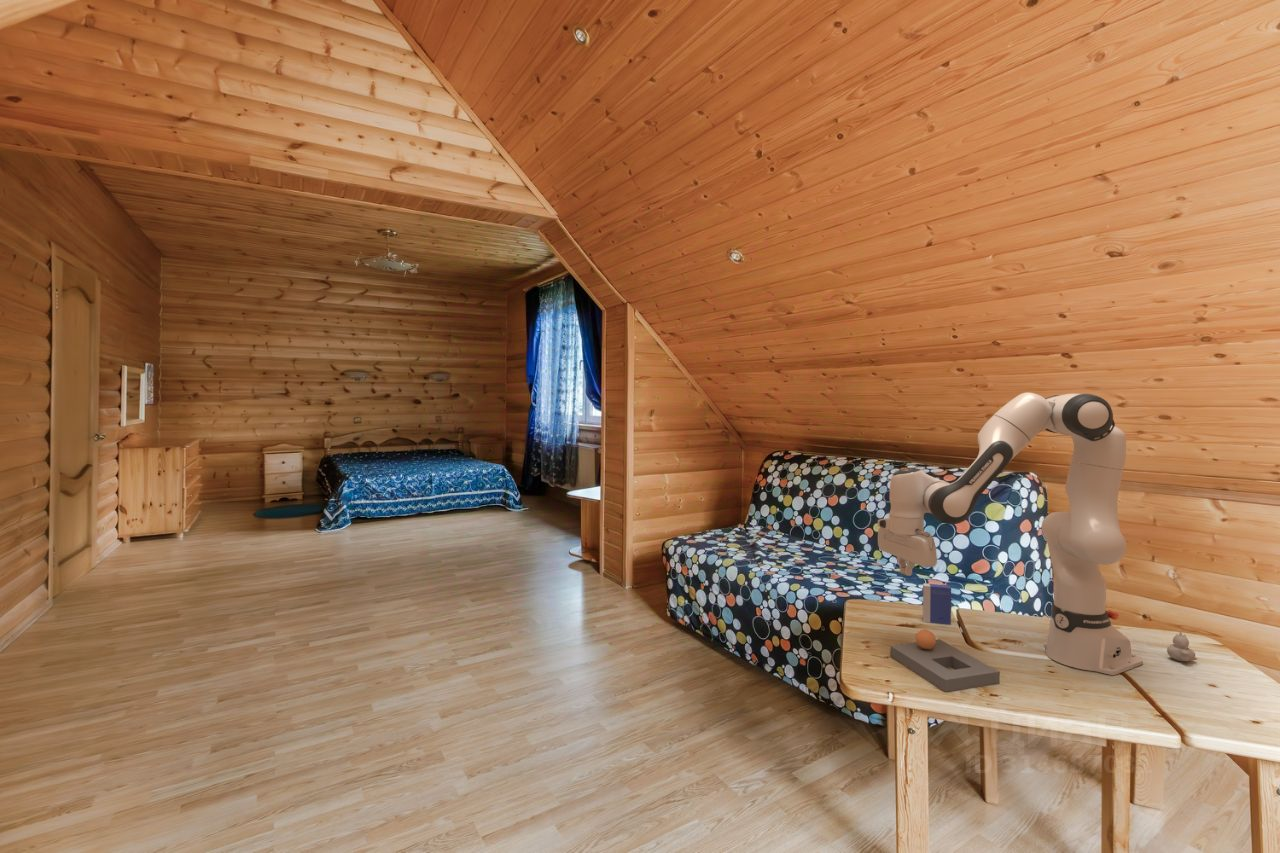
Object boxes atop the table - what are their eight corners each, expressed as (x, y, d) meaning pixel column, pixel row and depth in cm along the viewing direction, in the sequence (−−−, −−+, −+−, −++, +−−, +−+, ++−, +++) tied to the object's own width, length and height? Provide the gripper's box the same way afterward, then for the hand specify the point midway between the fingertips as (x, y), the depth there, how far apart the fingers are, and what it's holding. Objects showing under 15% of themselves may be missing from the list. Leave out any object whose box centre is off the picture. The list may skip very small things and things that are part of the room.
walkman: (949, 621, 182) (949, 584, 181) (950, 624, 179) (951, 587, 179) (921, 618, 184) (922, 582, 184) (922, 622, 182) (923, 584, 181)
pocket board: (939, 649, 162) (939, 639, 162) (999, 683, 142) (999, 671, 142) (890, 656, 158) (890, 645, 158) (945, 692, 139) (945, 679, 138)
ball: (926, 643, 159) (926, 625, 159) (940, 651, 154) (940, 632, 154) (911, 645, 158) (911, 627, 157) (924, 653, 153) (924, 635, 153)
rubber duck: (1188, 657, 155) (1189, 628, 155) (1200, 668, 149) (1201, 638, 149) (1162, 654, 157) (1163, 625, 157) (1173, 664, 151) (1174, 634, 151)
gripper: (943, 533, 153) (942, 584, 153) (892, 518, 173) (891, 563, 173) (923, 534, 151) (922, 586, 152) (873, 519, 171) (873, 565, 172)
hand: (905, 574), depth 163 cm, fingers closed
